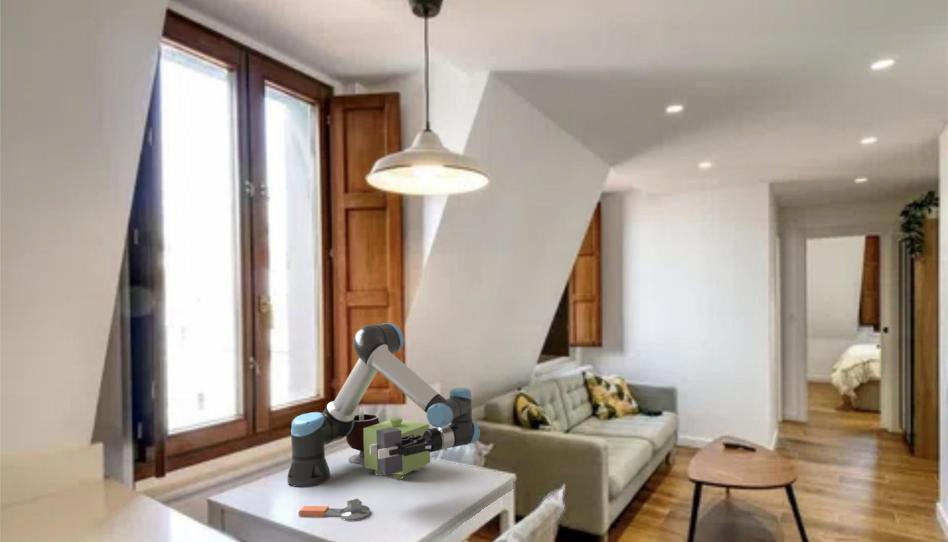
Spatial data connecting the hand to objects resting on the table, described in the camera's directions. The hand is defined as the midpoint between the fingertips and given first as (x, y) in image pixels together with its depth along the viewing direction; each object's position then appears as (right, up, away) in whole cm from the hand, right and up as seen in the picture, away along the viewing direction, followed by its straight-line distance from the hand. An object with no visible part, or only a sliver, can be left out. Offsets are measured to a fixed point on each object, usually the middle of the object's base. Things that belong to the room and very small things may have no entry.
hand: (374, 451), depth 172 cm
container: (+2, -19, +36) cm, 41 cm away
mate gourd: (-14, -21, +53) cm, 58 cm away
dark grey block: (+5, -7, +3) cm, 9 cm away
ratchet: (-12, -18, -3) cm, 22 cm away
